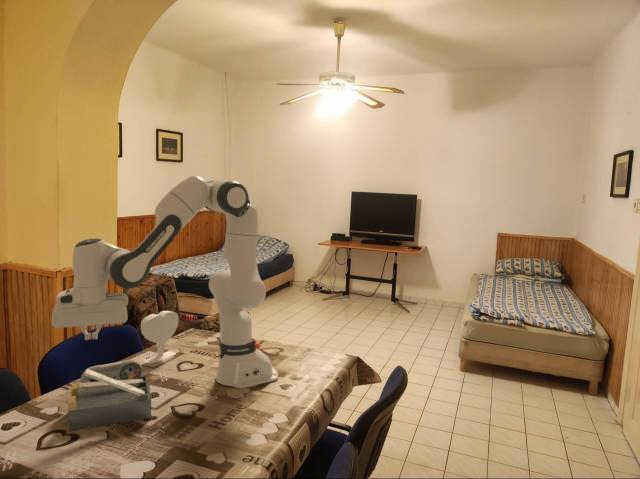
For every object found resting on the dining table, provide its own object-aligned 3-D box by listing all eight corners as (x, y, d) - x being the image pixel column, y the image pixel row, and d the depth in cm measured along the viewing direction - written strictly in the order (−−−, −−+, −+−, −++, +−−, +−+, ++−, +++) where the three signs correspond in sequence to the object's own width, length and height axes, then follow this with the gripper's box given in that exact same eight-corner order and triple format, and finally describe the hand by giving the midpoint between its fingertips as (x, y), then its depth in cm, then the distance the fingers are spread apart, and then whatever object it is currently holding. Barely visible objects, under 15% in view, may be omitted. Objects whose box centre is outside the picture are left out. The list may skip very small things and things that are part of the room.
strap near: (144, 395, 145) (146, 391, 145) (144, 399, 142) (146, 395, 142) (84, 372, 137) (86, 368, 137) (83, 376, 134) (86, 372, 135)
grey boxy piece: (148, 397, 156) (148, 373, 154) (151, 419, 142) (151, 393, 141) (73, 408, 147) (72, 382, 146) (68, 432, 134) (67, 404, 133)
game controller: (81, 394, 157) (80, 370, 155) (80, 391, 158) (79, 367, 157) (142, 381, 167) (142, 359, 166) (141, 379, 169) (141, 357, 168)
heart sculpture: (171, 350, 198) (171, 308, 195) (180, 352, 195) (179, 310, 193) (139, 361, 184) (139, 316, 182) (148, 364, 182) (147, 319, 179)
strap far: (143, 382, 153) (144, 378, 153) (144, 386, 150) (144, 382, 150) (79, 387, 146) (79, 383, 146) (78, 391, 143) (78, 387, 143)
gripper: (128, 289, 147) (128, 332, 149) (53, 293, 139) (54, 338, 141) (128, 294, 141) (128, 339, 143) (49, 298, 134) (51, 346, 135)
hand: (91, 339), depth 142 cm, fingers closed
